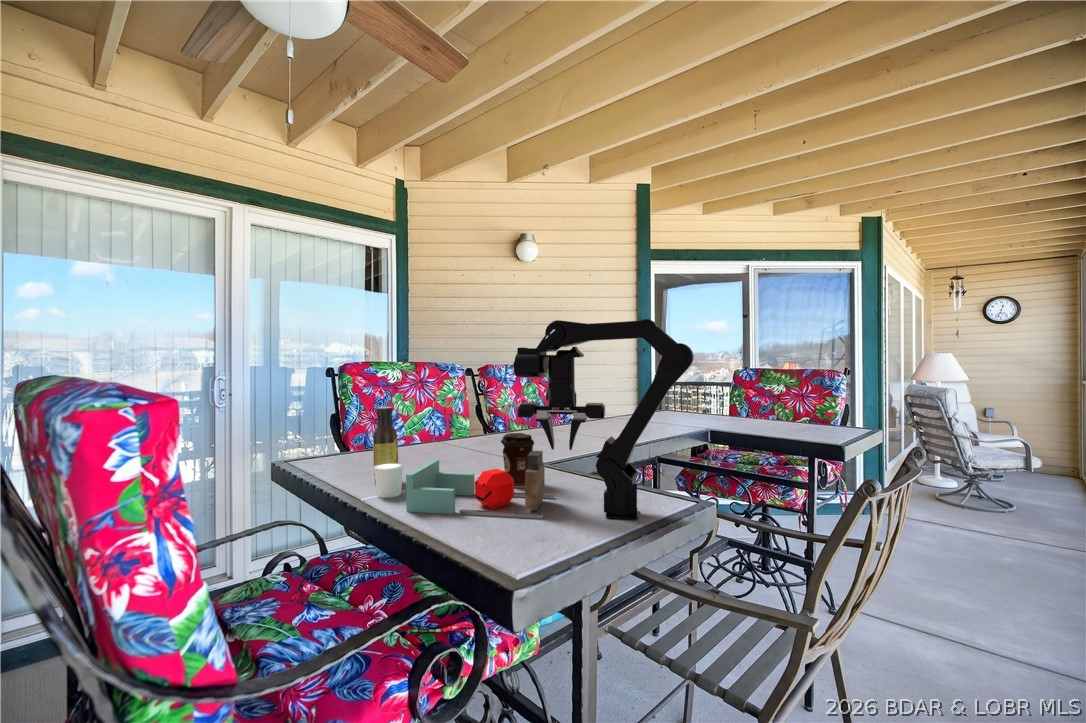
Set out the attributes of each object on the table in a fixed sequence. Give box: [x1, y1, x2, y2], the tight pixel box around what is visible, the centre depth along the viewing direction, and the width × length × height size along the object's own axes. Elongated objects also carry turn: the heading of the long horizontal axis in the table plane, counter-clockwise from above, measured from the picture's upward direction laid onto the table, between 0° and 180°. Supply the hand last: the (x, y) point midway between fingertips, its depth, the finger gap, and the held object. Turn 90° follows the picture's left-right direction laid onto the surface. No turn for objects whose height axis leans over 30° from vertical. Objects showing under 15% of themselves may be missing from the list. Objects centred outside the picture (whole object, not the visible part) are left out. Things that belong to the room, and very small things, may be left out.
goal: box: [405, 459, 476, 515], centre depth 114 cm, size 10×15×8 cm
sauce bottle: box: [372, 406, 399, 484], centre depth 132 cm, size 6×6×20 cm
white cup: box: [373, 462, 404, 499], centre depth 121 cm, size 7×7×7 cm
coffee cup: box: [500, 432, 535, 489], centre depth 129 cm, size 9×8×13 cm
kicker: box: [524, 450, 546, 511], centre depth 110 cm, size 2×10×11 cm, turn 170°
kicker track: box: [458, 491, 555, 520], centre depth 112 cm, size 18×15×1 cm
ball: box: [474, 468, 515, 510], centre depth 112 cm, size 8×8×8 cm
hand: (561, 449), depth 109 cm, fingers open, 4 cm apart
